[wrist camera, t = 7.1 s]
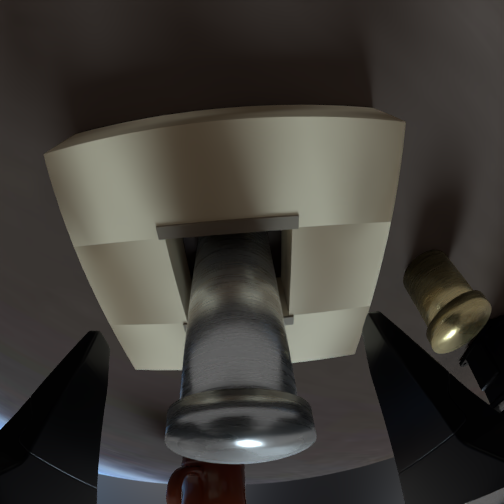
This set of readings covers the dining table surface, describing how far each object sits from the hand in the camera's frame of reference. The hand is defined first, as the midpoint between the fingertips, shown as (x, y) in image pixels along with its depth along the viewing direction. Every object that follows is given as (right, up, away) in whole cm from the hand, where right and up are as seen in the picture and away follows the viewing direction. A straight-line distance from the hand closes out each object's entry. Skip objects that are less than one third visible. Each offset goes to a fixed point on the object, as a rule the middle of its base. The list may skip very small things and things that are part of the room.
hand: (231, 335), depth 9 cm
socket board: (0, +3, +4) cm, 5 cm away
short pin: (+11, +1, +6) cm, 13 cm away
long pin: (0, +3, +4) cm, 5 cm away
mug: (-5, -20, +21) cm, 29 cm away
